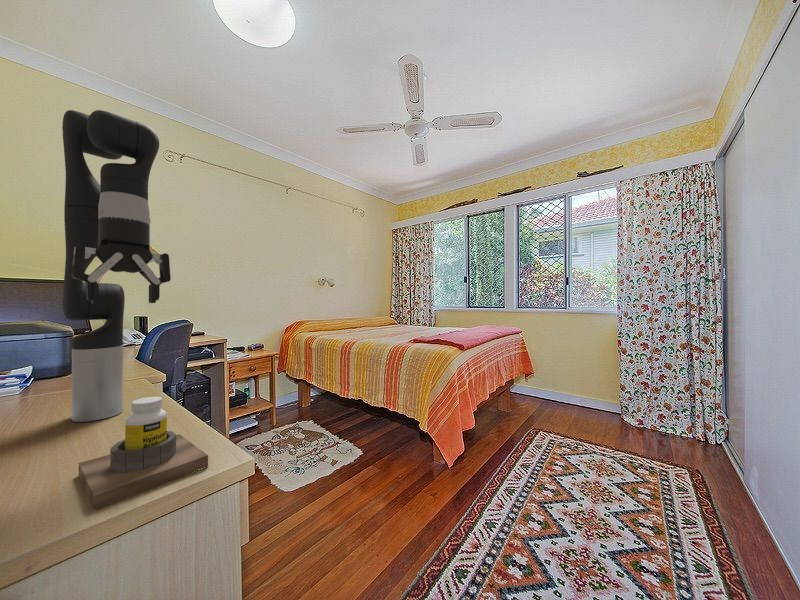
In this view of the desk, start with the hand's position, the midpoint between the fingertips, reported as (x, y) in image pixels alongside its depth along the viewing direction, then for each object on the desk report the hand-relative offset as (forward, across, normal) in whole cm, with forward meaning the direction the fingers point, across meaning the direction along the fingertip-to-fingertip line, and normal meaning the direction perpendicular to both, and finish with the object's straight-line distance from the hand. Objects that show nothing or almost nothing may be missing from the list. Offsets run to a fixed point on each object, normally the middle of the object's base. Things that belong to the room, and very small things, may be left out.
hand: (125, 303), depth 61 cm
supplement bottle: (+26, 0, +14) cm, 30 cm away
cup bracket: (+28, 0, +14) cm, 31 cm away
